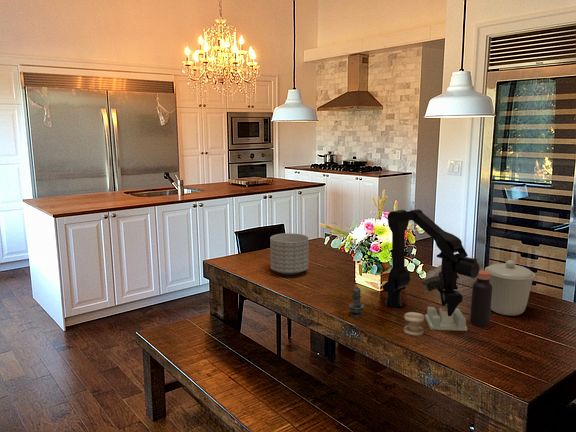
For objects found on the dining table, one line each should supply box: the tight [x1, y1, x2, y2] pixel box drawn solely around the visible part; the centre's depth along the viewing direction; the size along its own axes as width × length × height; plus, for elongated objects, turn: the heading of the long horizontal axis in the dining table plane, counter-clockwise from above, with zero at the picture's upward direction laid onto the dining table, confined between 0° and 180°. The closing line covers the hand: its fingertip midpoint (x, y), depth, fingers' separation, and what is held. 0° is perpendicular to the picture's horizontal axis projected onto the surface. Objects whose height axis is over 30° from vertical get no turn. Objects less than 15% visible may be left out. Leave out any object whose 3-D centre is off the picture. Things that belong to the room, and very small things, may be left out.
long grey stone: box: [422, 264, 441, 284], centre depth 233 cm, size 35×5×10 cm
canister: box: [484, 259, 536, 317], centre depth 189 cm, size 18×18×21 cm
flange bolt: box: [348, 285, 365, 318], centre depth 186 cm, size 6×6×12 cm
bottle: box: [469, 269, 492, 327], centre depth 177 cm, size 7×7×20 cm
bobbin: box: [403, 311, 425, 337], centre depth 171 cm, size 7×7×6 cm
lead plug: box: [438, 305, 453, 323], centre depth 178 cm, size 4×4×6 cm
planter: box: [269, 232, 309, 276], centre depth 237 cm, size 19×19×18 cm
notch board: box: [424, 306, 468, 332], centre depth 178 cm, size 11×13×4 cm
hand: (446, 311), depth 177 cm, fingers open, 9 cm apart
